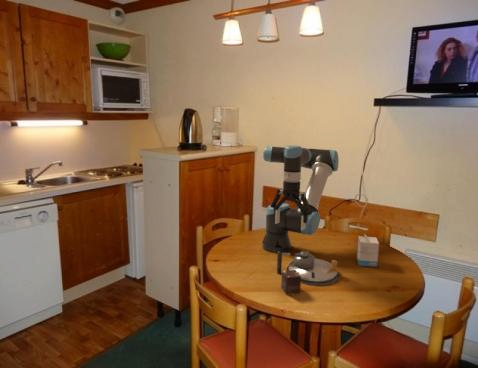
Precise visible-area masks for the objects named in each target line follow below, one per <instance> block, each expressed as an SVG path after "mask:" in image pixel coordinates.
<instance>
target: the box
mask: <svg viewBox="0 0 478 368" xmlns="http://www.w3.org/2000/svg"><path fill="white" fill-rule="evenodd" d="M280 283H281V290H282V291H283V293H284V294H285V295H286V296H287V295H295V294H301V286H302V283H301V276H300V275H299V274H298V272H297V271H296V270H289V271H286V270H281V282H280Z"/></svg>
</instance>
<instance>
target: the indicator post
mask: <svg viewBox="0 0 478 368" xmlns="http://www.w3.org/2000/svg"><path fill="white" fill-rule="evenodd" d="M276 256H277V257H276V259H277V260H276V261H277V263H276V274H277V275H282V271H283V270H282V266H283V263H282V262H283V256H291V253H290V252H282V251H278V252H277V255H276Z"/></svg>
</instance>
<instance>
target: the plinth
mask: <svg viewBox="0 0 478 368" xmlns="http://www.w3.org/2000/svg"><path fill="white" fill-rule="evenodd" d="M285 271H289V265H288V266H287V267H286V270H285ZM339 280H340V273H339V271H338V270H337V277H336V278H335V279H334V280H332V281H329V282H325V283H311V282H306V281H302V280H301V284H304V285H308V286H314V287H315V286H319V287H320V286H322V287H323V286H329V285H333V284H335V283H337V282H338V281H339Z"/></svg>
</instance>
